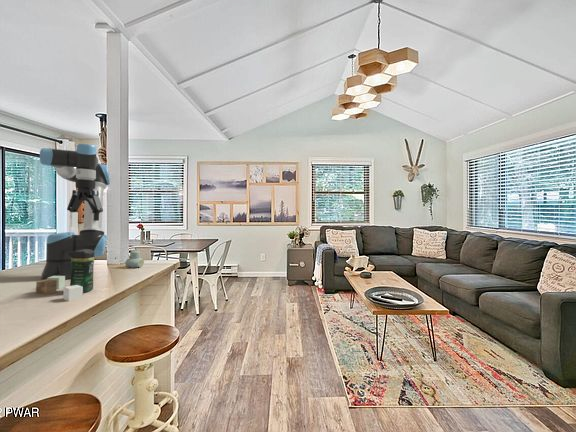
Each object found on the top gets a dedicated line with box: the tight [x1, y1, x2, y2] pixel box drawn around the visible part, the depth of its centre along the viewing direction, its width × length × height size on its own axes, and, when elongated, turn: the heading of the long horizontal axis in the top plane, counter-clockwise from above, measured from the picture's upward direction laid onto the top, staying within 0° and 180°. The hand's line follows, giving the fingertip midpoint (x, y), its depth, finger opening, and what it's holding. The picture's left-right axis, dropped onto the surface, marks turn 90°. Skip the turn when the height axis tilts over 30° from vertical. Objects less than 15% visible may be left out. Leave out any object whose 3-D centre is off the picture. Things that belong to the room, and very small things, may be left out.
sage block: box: [47, 276, 66, 290], centre depth 151 cm, size 5×5×5 cm
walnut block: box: [35, 279, 57, 295], centre depth 143 cm, size 5×5×5 cm
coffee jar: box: [69, 249, 96, 293], centre depth 147 cm, size 10×8×19 cm
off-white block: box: [62, 285, 84, 302], centre depth 134 cm, size 5×5×5 cm
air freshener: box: [124, 250, 145, 269], centre depth 209 cm, size 11×8×10 cm
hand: (84, 227), depth 147 cm, fingers open, 13 cm apart
